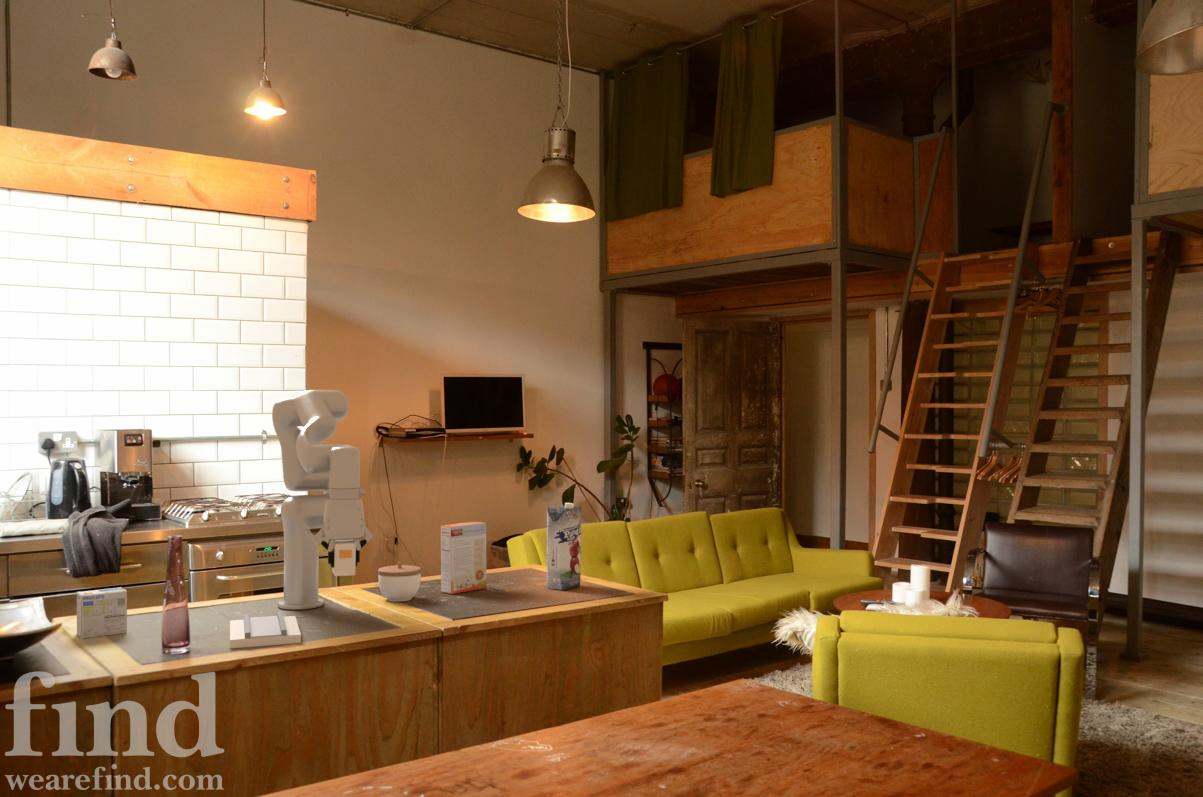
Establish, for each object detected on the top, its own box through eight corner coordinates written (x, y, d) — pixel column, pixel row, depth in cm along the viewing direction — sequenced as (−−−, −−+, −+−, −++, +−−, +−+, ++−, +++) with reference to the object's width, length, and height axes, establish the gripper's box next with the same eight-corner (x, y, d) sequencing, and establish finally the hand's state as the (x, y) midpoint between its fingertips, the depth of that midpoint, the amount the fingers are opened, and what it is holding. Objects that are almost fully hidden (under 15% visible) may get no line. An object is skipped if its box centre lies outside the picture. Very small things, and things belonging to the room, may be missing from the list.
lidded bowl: (414, 593, 293) (415, 557, 293) (425, 601, 281) (426, 563, 281) (373, 597, 287) (373, 560, 287) (382, 605, 276) (383, 566, 276)
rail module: (332, 571, 246) (332, 540, 246) (352, 570, 248) (352, 539, 248) (334, 576, 239) (335, 544, 239) (355, 575, 241) (355, 543, 241)
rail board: (229, 628, 246) (230, 615, 246) (295, 623, 251) (295, 610, 252) (229, 648, 225) (230, 634, 225) (300, 642, 231) (300, 628, 231)
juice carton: (542, 588, 302) (543, 503, 302) (561, 583, 311) (561, 500, 311) (566, 591, 297) (566, 504, 297) (584, 586, 306) (584, 502, 306)
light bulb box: (121, 628, 245) (122, 586, 246) (128, 633, 240) (128, 590, 240) (75, 634, 239) (75, 591, 239) (80, 639, 234) (80, 595, 234)
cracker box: (475, 586, 305) (475, 520, 306) (487, 588, 301) (487, 522, 301) (439, 592, 295) (439, 524, 296) (451, 594, 291) (451, 526, 291)
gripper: (376, 492, 250) (375, 562, 250) (308, 494, 244) (307, 565, 244) (380, 495, 243) (379, 566, 243) (310, 497, 237) (310, 570, 237)
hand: (343, 565), depth 244 cm, fingers closed on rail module, 5 cm apart
